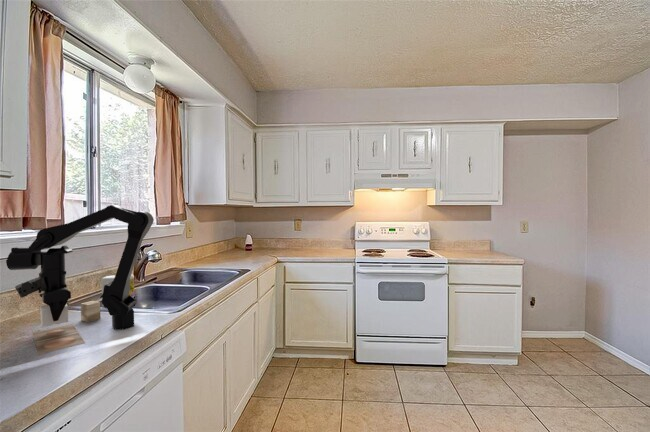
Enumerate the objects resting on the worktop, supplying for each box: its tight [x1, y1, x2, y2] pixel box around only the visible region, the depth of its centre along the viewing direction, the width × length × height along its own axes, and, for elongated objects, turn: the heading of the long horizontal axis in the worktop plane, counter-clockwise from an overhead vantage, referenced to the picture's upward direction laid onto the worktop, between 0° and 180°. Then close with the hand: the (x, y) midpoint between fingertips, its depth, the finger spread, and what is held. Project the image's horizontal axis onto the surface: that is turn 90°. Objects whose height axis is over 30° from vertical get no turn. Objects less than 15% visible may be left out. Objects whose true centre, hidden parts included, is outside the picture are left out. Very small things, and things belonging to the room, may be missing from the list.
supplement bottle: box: [129, 273, 135, 298], centre depth 142 cm, size 7×7×13 cm
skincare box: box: [100, 274, 116, 308], centre depth 130 cm, size 6×4×12 cm
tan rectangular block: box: [80, 300, 101, 323], centre depth 111 cm, size 4×4×7 cm
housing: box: [39, 303, 69, 328], centre depth 99 cm, size 6×6×5 cm
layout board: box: [31, 323, 86, 355], centre depth 96 cm, size 22×10×1 cm, turn 46°
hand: (54, 318), depth 99 cm, fingers closed on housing, 6 cm apart
